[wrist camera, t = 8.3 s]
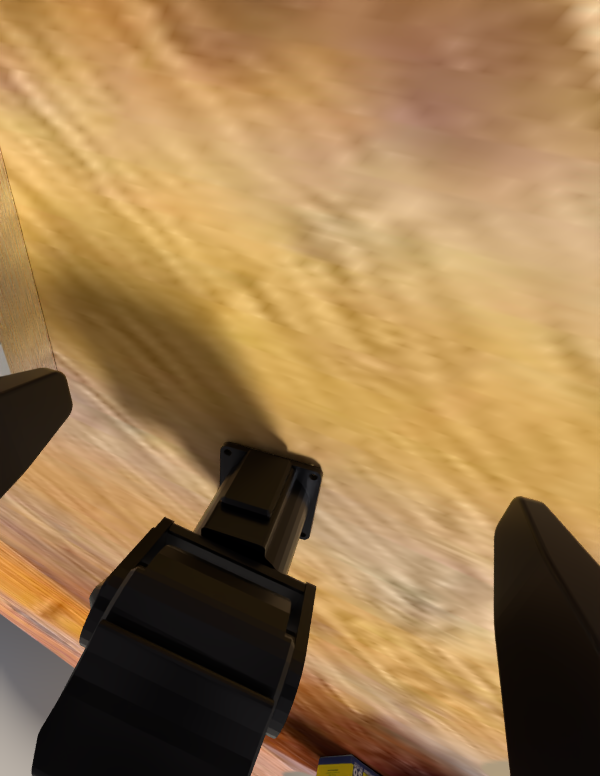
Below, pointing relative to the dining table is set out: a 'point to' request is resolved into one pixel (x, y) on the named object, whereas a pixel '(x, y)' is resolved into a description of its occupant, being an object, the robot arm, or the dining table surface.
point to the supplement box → (343, 767)
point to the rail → (18, 296)
